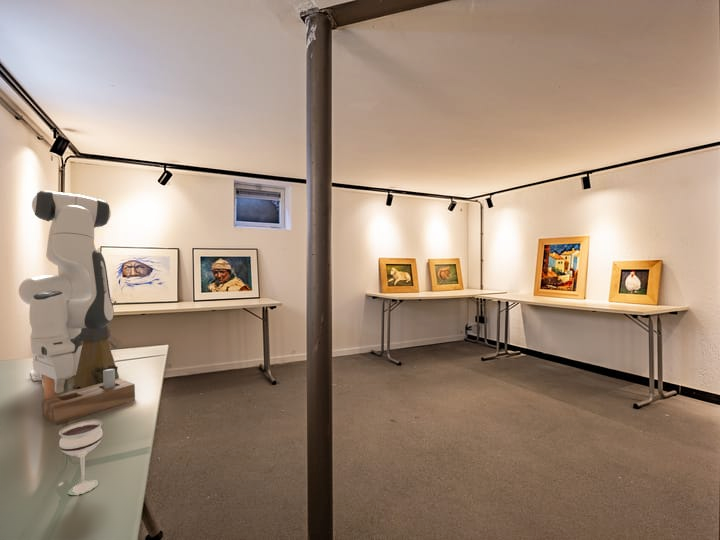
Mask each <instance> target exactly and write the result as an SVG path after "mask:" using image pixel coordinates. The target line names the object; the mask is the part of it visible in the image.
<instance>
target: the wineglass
mask: <svg viewBox="0 0 720 540" xmlns="http://www.w3.org/2000/svg"><path fill="white" fill-rule="evenodd" d="M102 424H103V422H102V421H101V420H99V419H89V420H88V419H87V420H86V419H85V420H82V421H78V422H77V421H76V422H75V423H70V425H66V426H65V427H63V428H62V429H60V430H59V431H58V435H59V436H60V438H59V441H58V445H59V448H58V449H60V450H61V452H62V453H63V454H65V455H67V456H70V457H77V458H79V464H80V473H81V482H82V483H80V482H78V483H79V484H78V483H76V484H77V485H76V484H75V486H74V485H73V486H74V487H73V486H72V487H73V490H72V491H73V492H75V493H79V492H84V491H86V490H88V489H90V488H91V487H93V486H94V484H95V483H94V482H93V481H87V480H85V479H86V477H85V476H86V474H85V473H86V472H85V470H86V469H85V468H86V467H85V466H86V458H85V457H86V456H87V455H88V453H90V452H91V451H94V449H95V448H96V447H97V446H98V445H99V444H100V443H101V442H102V439H103V435H104V431H103V429H102V427H101V426H102Z"/></svg>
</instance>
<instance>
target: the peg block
mask: <svg viewBox="0 0 720 540" xmlns="http://www.w3.org/2000/svg"><path fill="white" fill-rule="evenodd" d="M135 385H136V384H135V383H133V382H130V381H127V380H125V379H123V378H120V377H119V379H116V380H115V387H112V388H109V389H105V390H104V385H103V383H101V384H97V385H93V386H89V387H85V388H78V389H74V390H72V391H68V392H64V393H63V392H62V393H58V394H57V395H55V396H52V397H48V398H44V397H43V398H41V409H42V413H41V415H42V417H43V418H44V419H46V420H47V421H49V422H50V423H52V424H54V425H55V426H57V425H60V424H63V423H66V421H67V422H69V420H70V421H72V419H73V420H75V419H80V418H82V417H85V416H88V415H92V414H94V413H97V412H100V411H104V410H107V409H110V408H114V407H117V406H119V405H122V404H126V403H129V402H133V401H134V400H136V392H135V391H136V387H135Z"/></svg>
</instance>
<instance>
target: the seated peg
mask: <svg viewBox="0 0 720 540" xmlns="http://www.w3.org/2000/svg"><path fill="white" fill-rule="evenodd" d="M103 385H104V390H105V389H109V388H112V387H115V369H107V370H104V371H103Z"/></svg>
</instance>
